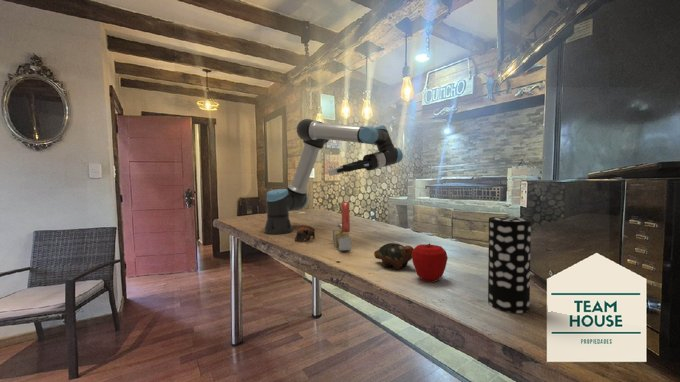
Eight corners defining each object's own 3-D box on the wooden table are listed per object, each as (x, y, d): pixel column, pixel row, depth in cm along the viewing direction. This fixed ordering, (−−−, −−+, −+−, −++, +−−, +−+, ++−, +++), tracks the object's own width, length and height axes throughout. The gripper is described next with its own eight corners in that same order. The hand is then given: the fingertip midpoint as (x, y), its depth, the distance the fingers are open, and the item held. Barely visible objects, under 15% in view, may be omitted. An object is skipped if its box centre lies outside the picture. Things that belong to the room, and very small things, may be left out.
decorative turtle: (410, 274, 89) (408, 248, 89) (368, 269, 98) (365, 245, 98) (422, 264, 97) (420, 241, 96) (382, 260, 106) (380, 238, 106)
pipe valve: (332, 242, 134) (331, 224, 133) (344, 241, 135) (343, 223, 134) (338, 253, 115) (337, 232, 115) (352, 252, 116) (351, 231, 115)
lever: (337, 226, 125) (336, 200, 125) (344, 225, 126) (343, 200, 125) (342, 233, 110) (342, 203, 110) (350, 232, 111) (350, 203, 110)
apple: (450, 277, 86) (450, 240, 86) (443, 288, 78) (443, 248, 77) (416, 272, 91) (416, 237, 91) (407, 281, 83) (407, 244, 82)
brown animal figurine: (290, 241, 140) (295, 225, 143) (307, 247, 144) (311, 231, 147) (301, 239, 130) (306, 222, 134) (318, 246, 134) (323, 229, 138)
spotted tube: (514, 296, 72) (515, 216, 71) (538, 312, 63) (540, 221, 62) (481, 297, 71) (481, 216, 70) (501, 314, 63) (502, 222, 62)
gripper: (383, 169, 131) (338, 181, 121) (367, 169, 143) (324, 180, 132) (380, 152, 130) (334, 164, 119) (364, 153, 141) (321, 164, 131)
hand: (329, 172), depth 126 cm, fingers closed
